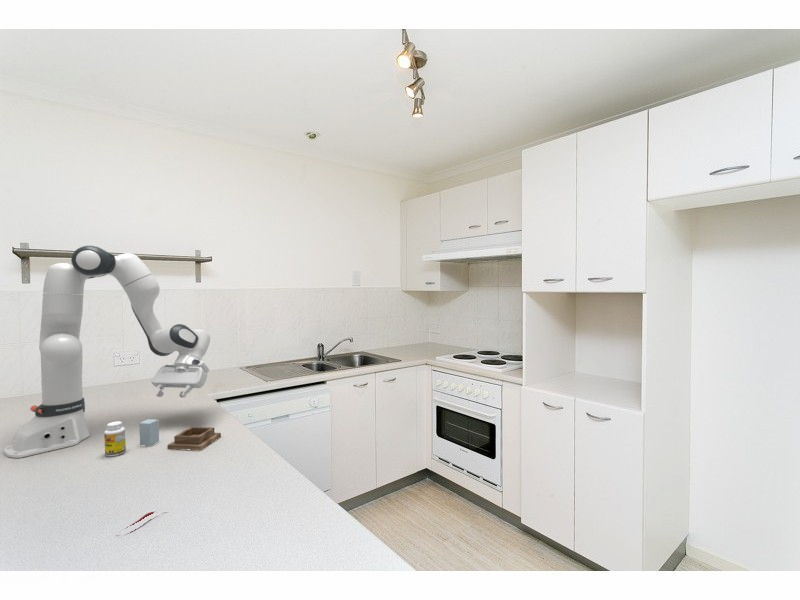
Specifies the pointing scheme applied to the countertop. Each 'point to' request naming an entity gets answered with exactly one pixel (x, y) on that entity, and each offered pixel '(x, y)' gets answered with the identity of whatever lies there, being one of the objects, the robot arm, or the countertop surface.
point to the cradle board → (194, 438)
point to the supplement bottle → (114, 439)
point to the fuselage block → (149, 432)
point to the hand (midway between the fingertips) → (170, 396)
